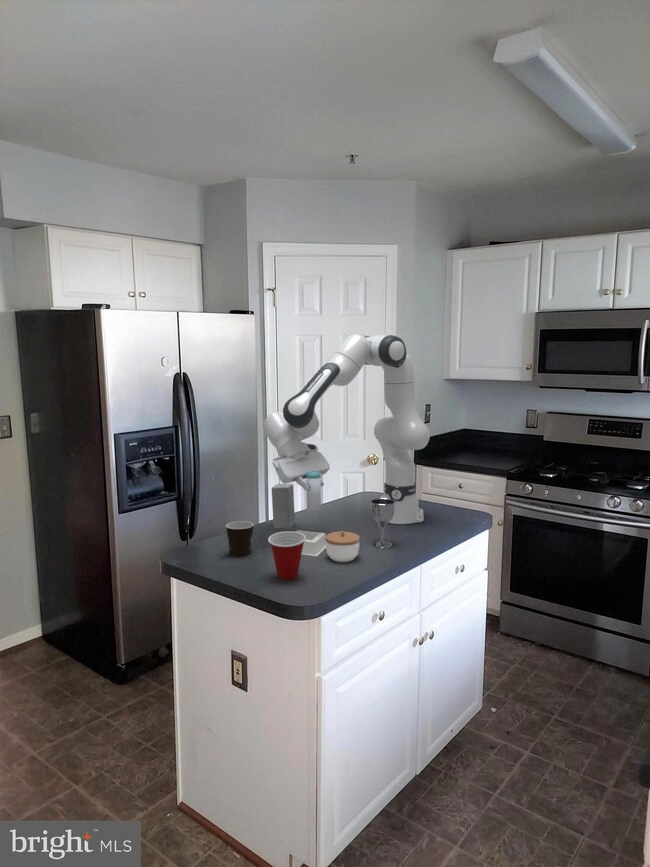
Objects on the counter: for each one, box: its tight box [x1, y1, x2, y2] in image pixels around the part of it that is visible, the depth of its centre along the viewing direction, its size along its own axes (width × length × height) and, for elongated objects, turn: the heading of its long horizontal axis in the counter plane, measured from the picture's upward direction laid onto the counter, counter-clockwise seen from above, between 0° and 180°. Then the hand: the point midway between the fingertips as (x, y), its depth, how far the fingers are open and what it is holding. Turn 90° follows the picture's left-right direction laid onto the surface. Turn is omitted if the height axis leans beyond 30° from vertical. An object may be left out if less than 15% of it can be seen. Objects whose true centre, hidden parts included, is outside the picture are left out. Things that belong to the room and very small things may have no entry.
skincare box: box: [271, 483, 296, 530], centre depth 222 cm, size 8×7×16 cm
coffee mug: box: [225, 520, 254, 558], centre depth 194 cm, size 12×9×10 cm
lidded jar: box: [325, 530, 361, 563], centre depth 188 cm, size 11×11×9 cm
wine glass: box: [370, 497, 395, 549], centre depth 203 cm, size 8×8×15 cm
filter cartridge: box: [305, 471, 322, 511], centre depth 198 cm, size 5×5×12 cm
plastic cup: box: [267, 530, 306, 581], centre depth 175 cm, size 11×11×12 cm
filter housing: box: [295, 529, 327, 557], centre depth 198 cm, size 12×12×5 cm
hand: (315, 487), depth 197 cm, fingers closed on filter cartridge, 5 cm apart
